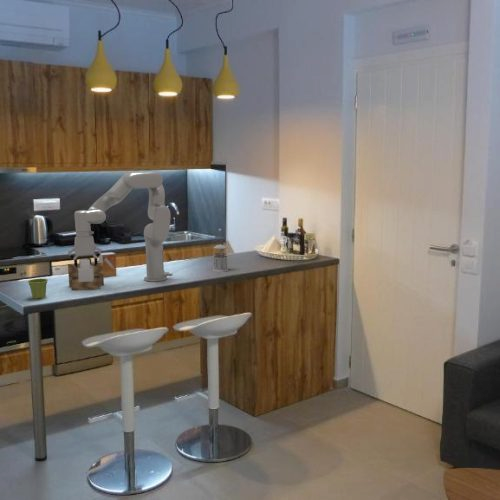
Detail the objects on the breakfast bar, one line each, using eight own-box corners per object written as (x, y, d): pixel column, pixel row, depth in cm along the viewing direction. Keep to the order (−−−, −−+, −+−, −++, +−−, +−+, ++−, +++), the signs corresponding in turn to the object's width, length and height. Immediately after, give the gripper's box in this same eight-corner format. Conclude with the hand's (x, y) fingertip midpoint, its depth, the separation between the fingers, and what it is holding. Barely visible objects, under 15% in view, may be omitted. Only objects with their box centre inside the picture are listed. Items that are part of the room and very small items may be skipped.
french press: (226, 267, 378) (225, 227, 373) (231, 271, 367) (231, 229, 362) (210, 269, 375) (209, 228, 370) (215, 272, 364) (214, 230, 360)
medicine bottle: (80, 279, 329) (79, 257, 327) (94, 279, 330) (93, 256, 328) (78, 282, 322) (77, 259, 320) (92, 281, 323) (91, 259, 321)
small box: (103, 277, 353) (102, 254, 351) (99, 275, 358) (98, 253, 356) (116, 275, 358) (115, 253, 355) (112, 273, 363) (111, 251, 361)
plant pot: (39, 300, 301) (38, 283, 299) (24, 298, 304) (23, 281, 303) (53, 296, 309) (51, 279, 308) (38, 294, 313) (37, 277, 311)
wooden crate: (103, 284, 335) (102, 262, 333) (103, 288, 325) (102, 266, 323) (69, 286, 331) (68, 264, 329) (68, 290, 321) (66, 267, 319)
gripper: (100, 232, 327) (103, 263, 330) (66, 234, 324) (69, 266, 327) (100, 234, 320) (103, 266, 323) (65, 236, 316) (68, 269, 319)
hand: (86, 266), depth 325 cm, fingers open, 9 cm apart
